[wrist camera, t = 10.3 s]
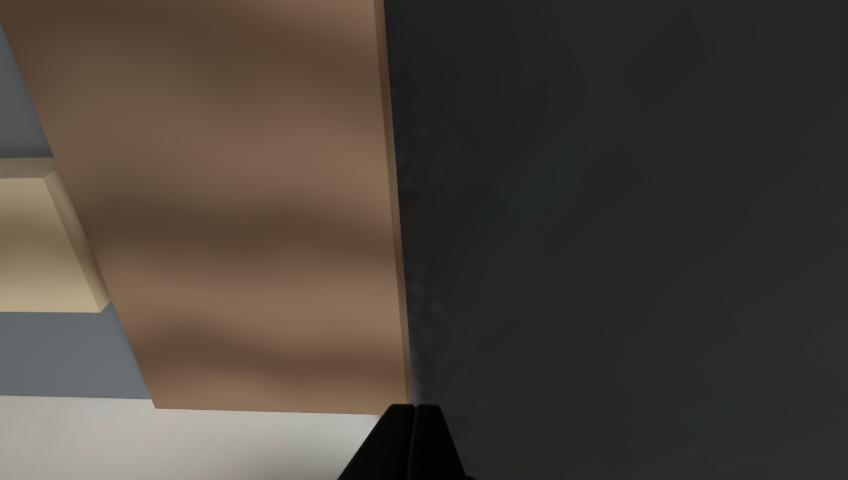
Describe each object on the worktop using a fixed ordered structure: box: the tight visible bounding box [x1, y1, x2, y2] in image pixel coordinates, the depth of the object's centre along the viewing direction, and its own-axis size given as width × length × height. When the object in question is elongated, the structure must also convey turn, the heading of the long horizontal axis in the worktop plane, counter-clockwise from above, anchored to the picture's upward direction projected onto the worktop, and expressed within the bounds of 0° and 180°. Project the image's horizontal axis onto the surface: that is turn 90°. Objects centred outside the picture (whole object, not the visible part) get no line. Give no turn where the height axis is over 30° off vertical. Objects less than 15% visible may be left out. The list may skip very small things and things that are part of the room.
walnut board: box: [0, 0, 412, 415], centre depth 22 cm, size 18×12×2 cm, turn 2°
